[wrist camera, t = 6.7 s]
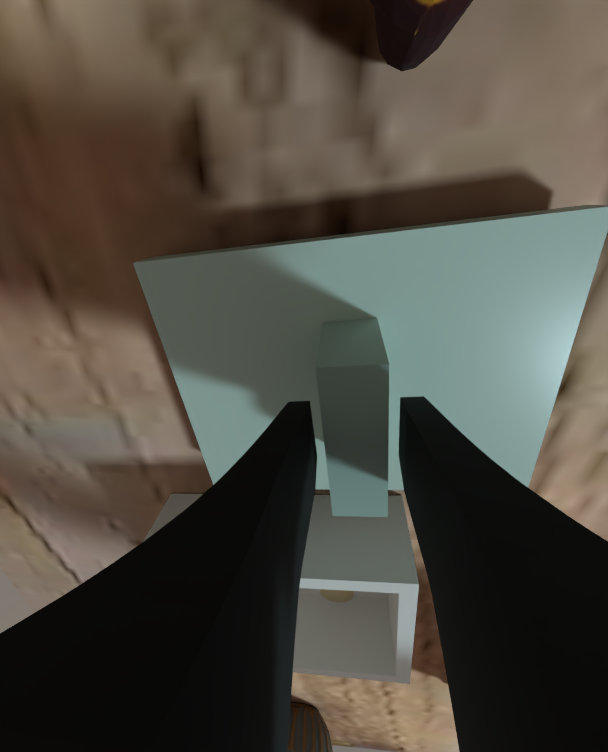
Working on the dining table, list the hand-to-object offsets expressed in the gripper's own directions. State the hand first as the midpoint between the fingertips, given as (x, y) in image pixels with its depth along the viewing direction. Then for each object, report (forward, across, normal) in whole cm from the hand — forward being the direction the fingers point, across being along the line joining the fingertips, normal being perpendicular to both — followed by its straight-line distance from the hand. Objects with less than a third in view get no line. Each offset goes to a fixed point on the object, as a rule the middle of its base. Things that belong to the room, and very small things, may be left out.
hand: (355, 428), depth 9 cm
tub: (+4, +4, +12) cm, 13 cm away
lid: (+4, 0, 0) cm, 4 cm away
